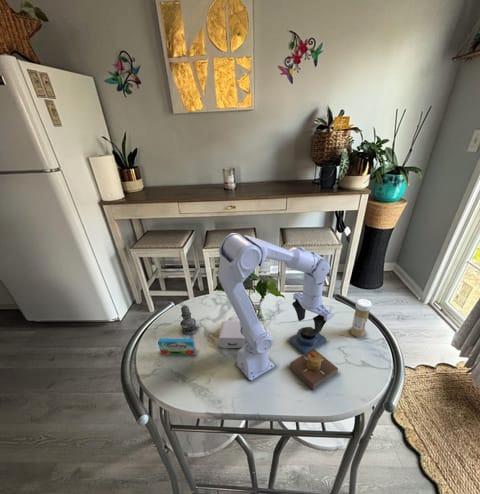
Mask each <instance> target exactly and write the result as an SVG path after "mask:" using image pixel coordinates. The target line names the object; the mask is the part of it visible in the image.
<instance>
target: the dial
mask: <svg viewBox="0 0 480 494" xmlns="http://www.w3.org/2000/svg"><path fill="white" fill-rule="evenodd" d="M319 353H320V352H318V353H316V352H310V353H309V354H308V360H307V366H308V368H309V369H311V370H319V369H320V367H321V360H322V357H321V355H322V354H321V353H320V354H321V355H320V354H319Z"/></svg>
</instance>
